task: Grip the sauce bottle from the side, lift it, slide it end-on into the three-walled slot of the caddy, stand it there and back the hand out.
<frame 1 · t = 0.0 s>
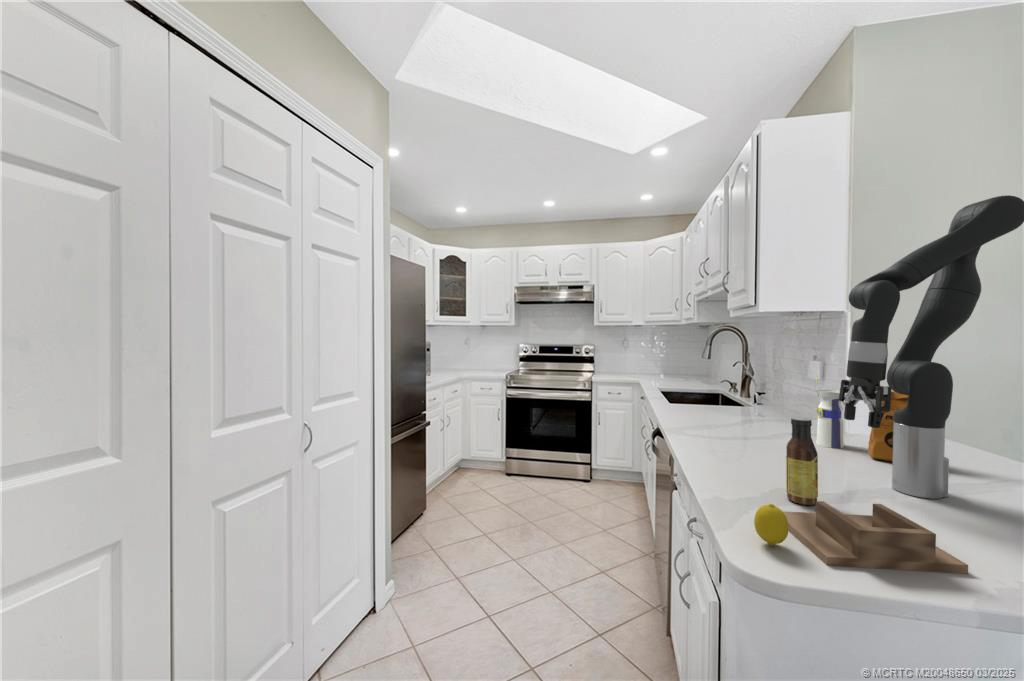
hand: (860, 423, 104), 17 cm above the worktop, tool pointing down, fingers open, 8 cm apart
sauce bottle: (801, 501, 98), on the worktop
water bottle: (829, 445, 144), on the worktop
lemon: (770, 546, 78), on the worktop
coffee package: (894, 461, 127), on the worktop
caddy: (858, 542, 79), on the worktop
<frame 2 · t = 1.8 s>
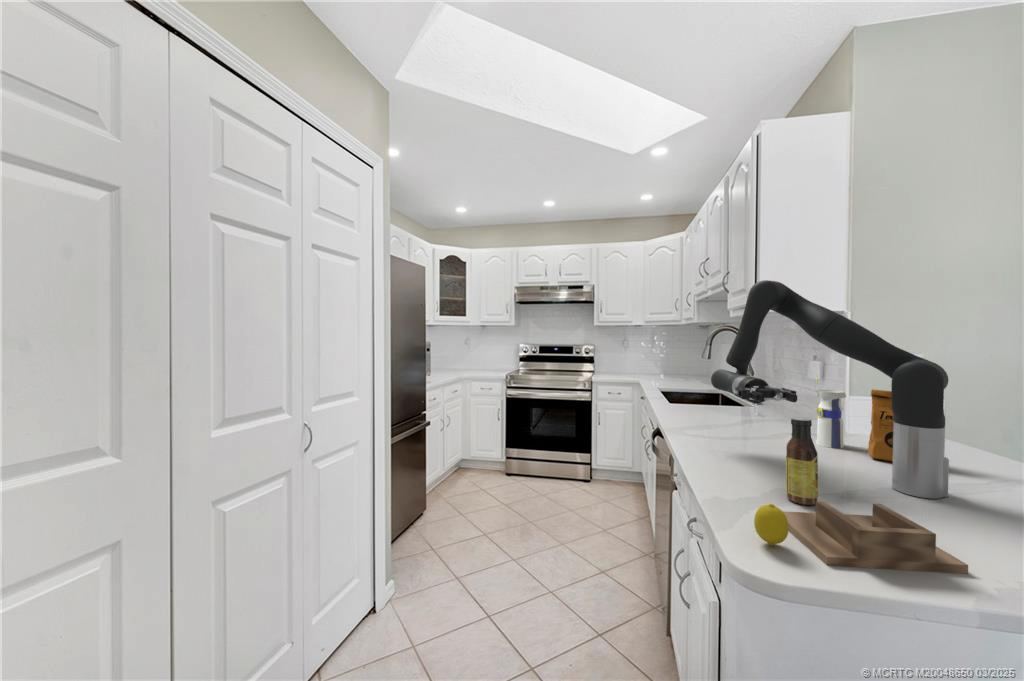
hand: (778, 398, 108), 23 cm above the worktop, tool horizontal, fingers open, 8 cm apart
nothing on the worktop moved.
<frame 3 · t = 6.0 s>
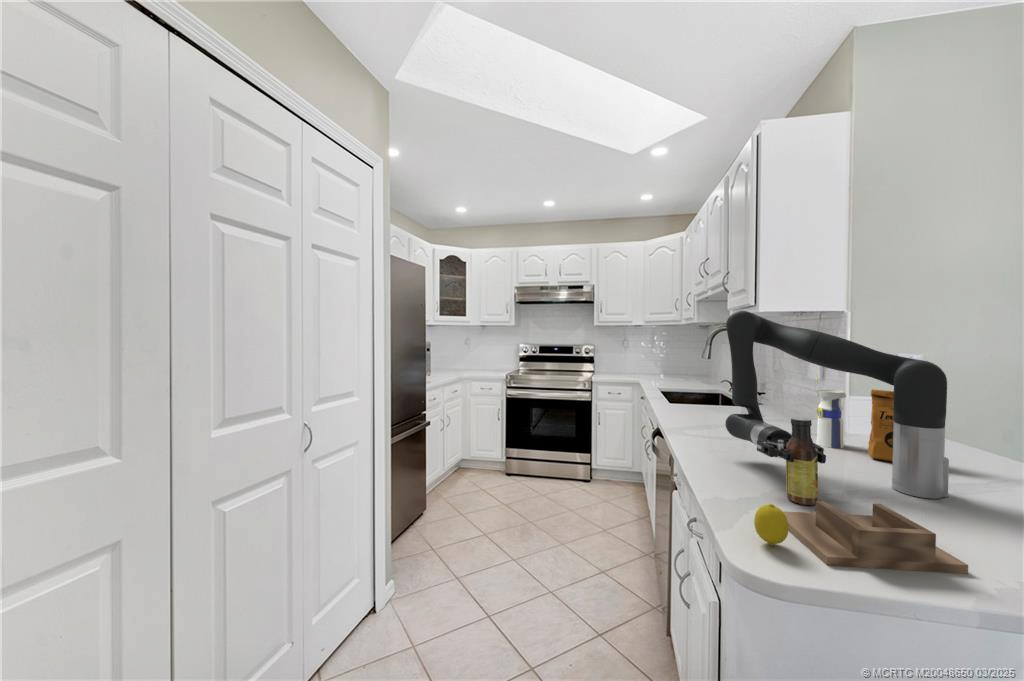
hand: (807, 458, 95), 11 cm above the worktop, tool horizontal, fingers closed on sauce bottle, 6 cm apart
sauce bottle: (801, 501, 98), on the worktop, touching gripper
everything else where it was.
when the fingers open (13 cm above the worktop, at t = 12.8 s): sauce bottle stays where it is, resting on caddy.
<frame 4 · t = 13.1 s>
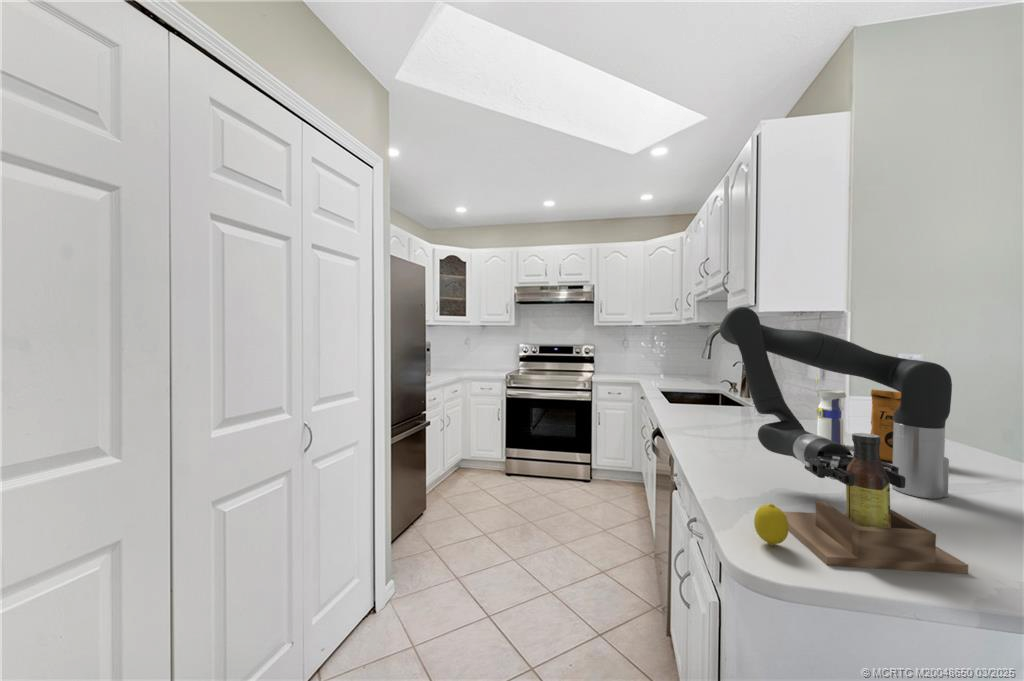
hand: (877, 481, 74), 14 cm above the worktop, tool horizontal, fingers open, 8 cm apart
sauce bottle: (867, 541, 77), point 1 cm above the worktop, touching caddy
everything else where it was.
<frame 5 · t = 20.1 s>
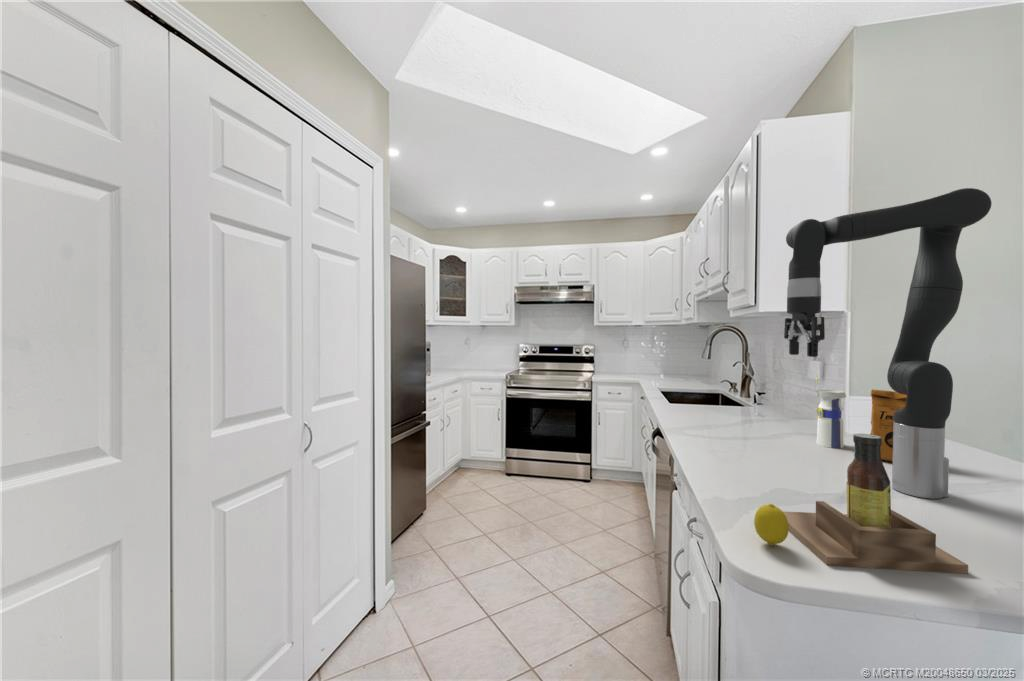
hand: (802, 355, 111), 34 cm above the worktop, tool pointing down, fingers open, 8 cm apart
nothing on the worktop moved.
at the end: sauce bottle 0.1 cm from the target spot on the caddy, point 1.3 cm above the caddy's base; sauce bottle tilted 0°; the gripper is holding nothing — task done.
